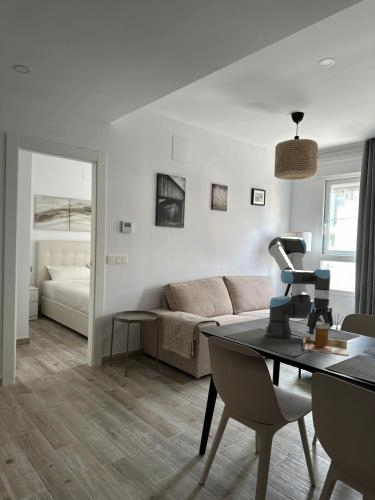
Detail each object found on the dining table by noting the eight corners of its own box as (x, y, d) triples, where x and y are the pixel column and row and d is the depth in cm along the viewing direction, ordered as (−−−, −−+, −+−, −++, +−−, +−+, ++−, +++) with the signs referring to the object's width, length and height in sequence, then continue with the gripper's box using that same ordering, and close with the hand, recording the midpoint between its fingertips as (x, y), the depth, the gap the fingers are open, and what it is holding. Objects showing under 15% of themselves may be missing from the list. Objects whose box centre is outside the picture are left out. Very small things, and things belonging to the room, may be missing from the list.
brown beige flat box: (302, 349, 186) (302, 342, 186) (303, 342, 200) (304, 335, 200) (348, 355, 178) (348, 348, 178) (346, 348, 192) (346, 340, 192)
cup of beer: (328, 344, 192) (329, 322, 192) (329, 348, 183) (330, 325, 183) (310, 342, 195) (311, 320, 195) (310, 346, 186) (311, 323, 186)
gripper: (311, 299, 181) (309, 343, 181) (342, 298, 190) (340, 340, 190) (300, 297, 188) (298, 339, 188) (331, 296, 197) (329, 336, 197)
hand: (319, 339), depth 189 cm, fingers closed on cup of beer, 9 cm apart
